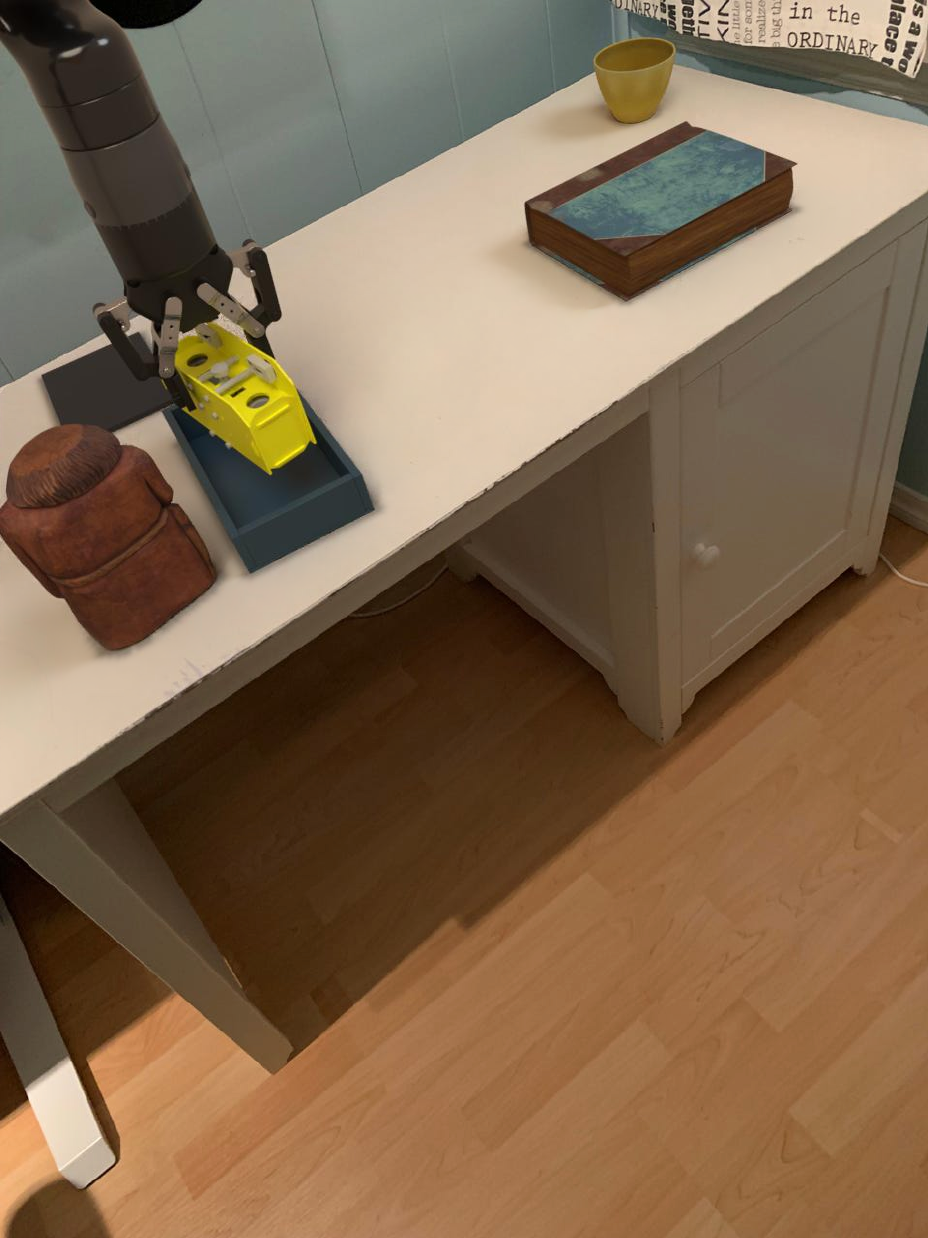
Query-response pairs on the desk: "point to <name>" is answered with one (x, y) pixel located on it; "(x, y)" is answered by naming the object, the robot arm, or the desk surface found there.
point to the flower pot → (634, 76)
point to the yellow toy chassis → (243, 396)
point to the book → (659, 207)
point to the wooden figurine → (103, 532)
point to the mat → (104, 390)
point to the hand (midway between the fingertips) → (228, 388)
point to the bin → (274, 489)
